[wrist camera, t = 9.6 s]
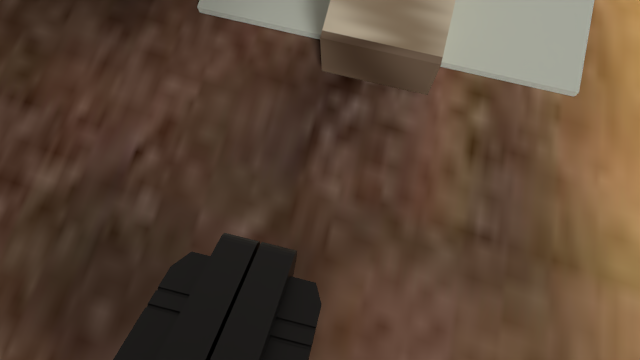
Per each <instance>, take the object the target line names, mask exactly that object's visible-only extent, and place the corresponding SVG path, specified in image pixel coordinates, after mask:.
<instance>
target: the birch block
mask: <svg viewBox="0 0 640 360" xmlns="http://www.w3.org/2000/svg"><path fill="white" fill-rule="evenodd" d="M454 5H455V0H330V4H329V7H328V11H327V14H326V18H325V22H324V25H323V29H322V32H321V36H320V45H321V63H322V71H325V72H329V73H333V74H338V75H342V76H346V77H351V78H355V79H359V80H364V81H368V82H373V83H377V84H381V85H386V86H390V87H394V88H399V89H403V90H407V91H412V92H416V93H421V94H425V95H427V94H428V92H429V90H430V88H431V86H432V83H433V81H434V79H435V77H436V75H437V72H438V70H439V68H440V66H441V62H442V58H443V54H444V49H445V45H446V40H447V36H448V31H449V27H450V23H451V18H452V14H453V9H454Z"/></svg>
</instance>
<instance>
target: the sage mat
mask: <svg viewBox="0 0 640 360" xmlns="http://www.w3.org/2000/svg"><path fill="white" fill-rule="evenodd" d="M329 4H330V0H199V3H198V6H197V8H198V10H199V12H200V13H204V14H209V15H213V16H217V17H222V18H226V19H231V20H235V21H240V22H244V23H249V24H253V25H258V26H262V27H266V28H271V29H275V30H280V31H284V32H289V33H293V34H298V35H302V36H307V37H311V38H315V39H320V36H321V32H322V29H323V25H324V22H325V18H326V14H327V11H328V7H329ZM593 5H594V0H455V5H454V9H453V14H452V18H451V23H450V27H449V31H448V36H447V40H446V45H445V49H444V54H443V58H442V62H441V66H440V67H445V68H449V69H453V70H458V71H462V72H467V73H471V74H476V75H480V76H485V77H489V78H494V79H498V80H502V81H507V82H511V83H516V84H520V85H525V86H529V87H534V88H538V89H543V90H547V91H551V92H556V93H560V94H565V95H569V96H575V95H577V94H578V93H579V88H580V83H581V77H582V71H583V65H584V59H585V53H586V47H587V41H588V35H589V29H590V23H591V17H592V11H593Z"/></svg>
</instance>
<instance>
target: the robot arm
mask: <svg viewBox="0 0 640 360" xmlns="http://www.w3.org/2000/svg"><path fill="white" fill-rule="evenodd" d="M296 257H297V251H296V250H292V249H288V248H284V247H280V246H276V245H272V244H268V243H264V242H262V243H261V244H260V242H259V241H255V240H251V239H247V238H243V237H239V236H235V235H231V234H227V233H224V234H223V235H222V236H221V238H220V240H219V242H218V243H217V245H216V247H215V249H214V251H213V253H212V255H211V256H207V255H203V254H199V253H195V252H191V253H189V254H188V255H186V256H185V257H183V258H182V259H181V260H179V261H178V262H176V263H175V264H174V265H172V266H171V267H170V269H169V270H168V272H167V274H166V275H165V277H164V278H163V280H162V282H161V283H160V285H159V286H158V290H157V291H155V293H154V295H153V296H152V298H151V299H150V301H149V303H148V306H147V308H145V309H144V311H143V312H142V314H141V316H140V317H139V319H138V320H137V322H136V324H135V325H134V327H133V329H132V330H131V332H130V333H129V335H128V337H127V338H126V340H125V341H124V343H123V345H122V346H121V348H120V350H119V351H118V353H117V354H116V356H115V358H114V359H113V360H309V356H310V351H311V347H312V343H313V339H314V334H315V330H316V326H317V321H318V317H319V313H320V309H321V301H320V297H319V293H318V289H317V286H316V283H314V282H310V281H306V280H303V279H299V278H295V277H293V274H294V268H295V263H296Z"/></svg>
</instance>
